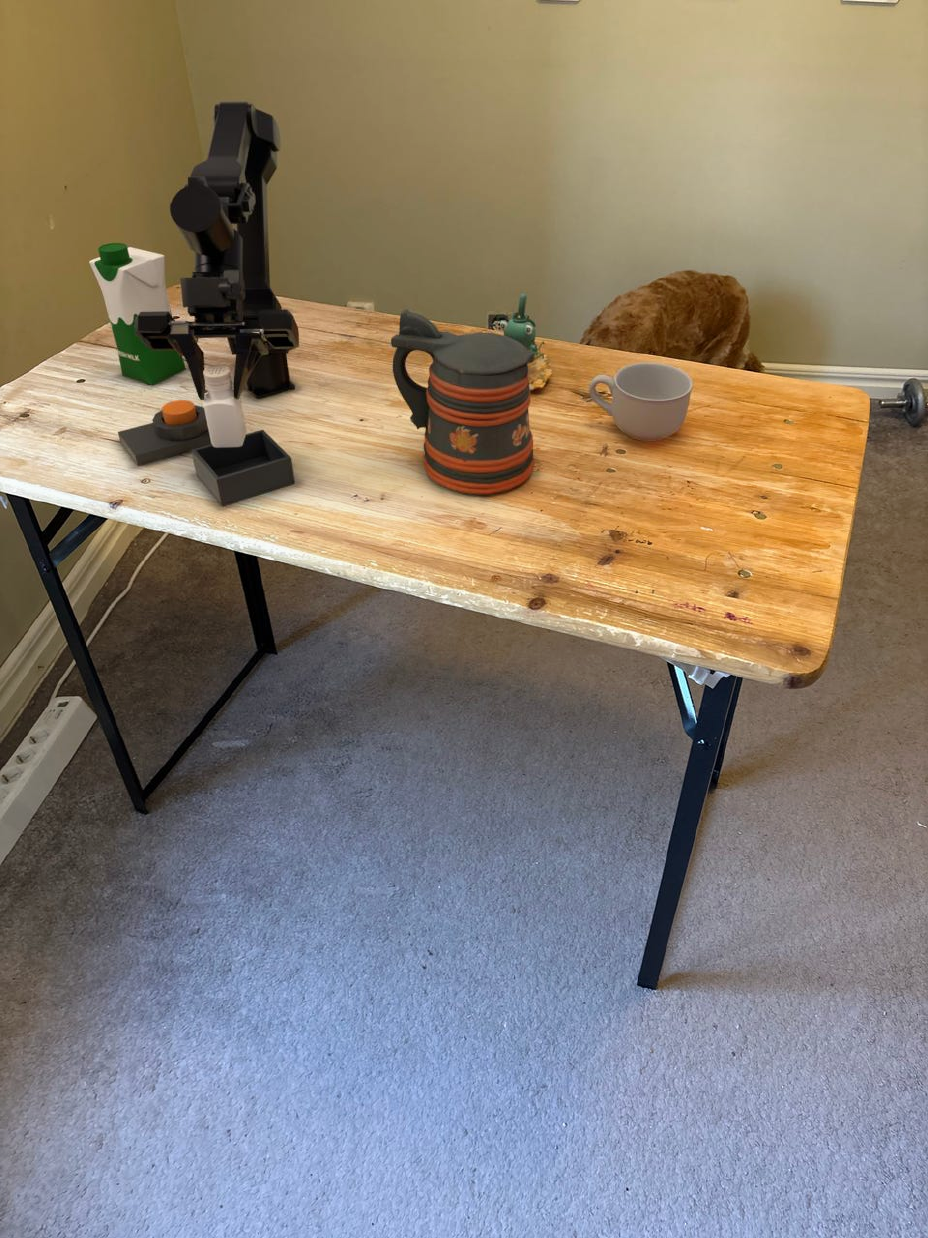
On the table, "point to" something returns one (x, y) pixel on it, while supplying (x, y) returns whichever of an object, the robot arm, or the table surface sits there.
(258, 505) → the table surface
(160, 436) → the button base
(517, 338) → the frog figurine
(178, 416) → the button
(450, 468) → the beer stein
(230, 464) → the dark grey open box
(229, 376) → the pepper shaker
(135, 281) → the milk carton
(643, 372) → the teacup
